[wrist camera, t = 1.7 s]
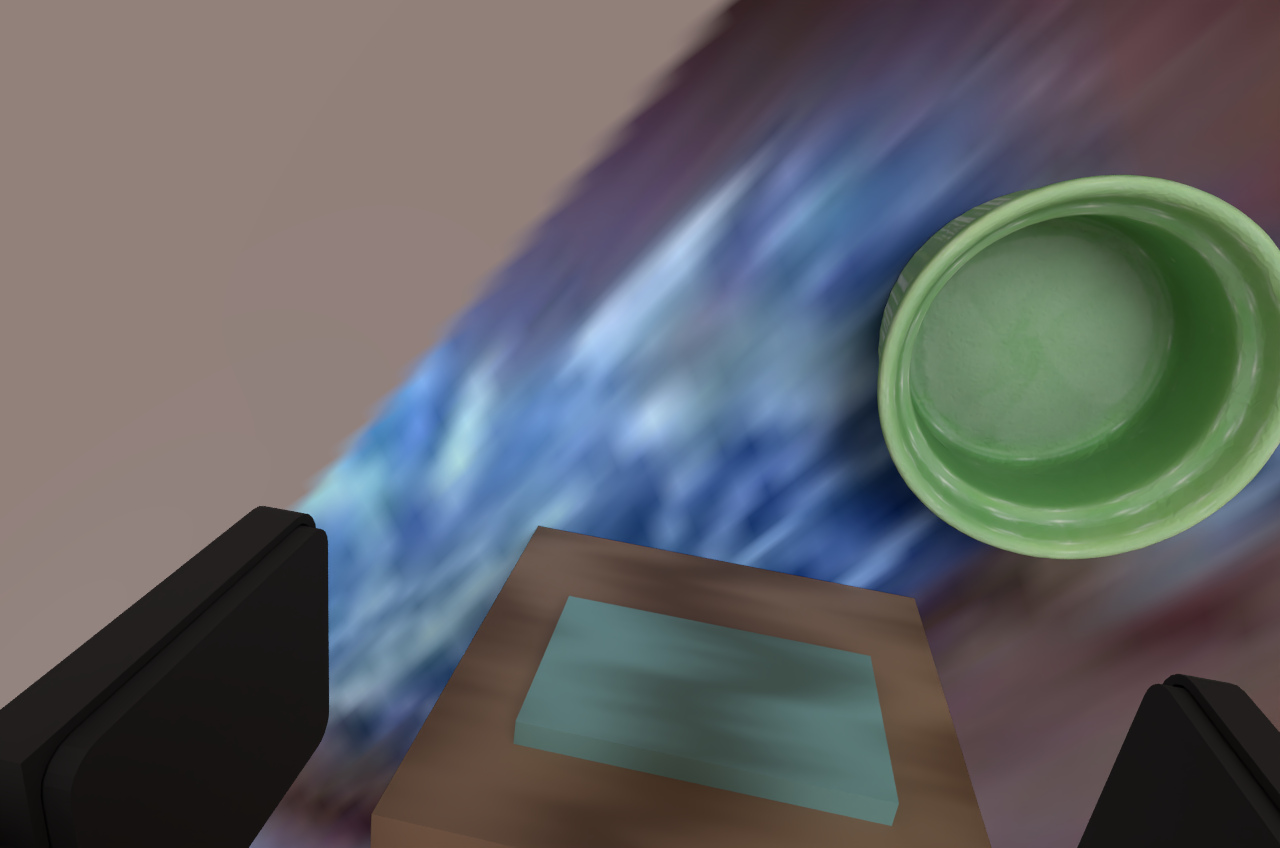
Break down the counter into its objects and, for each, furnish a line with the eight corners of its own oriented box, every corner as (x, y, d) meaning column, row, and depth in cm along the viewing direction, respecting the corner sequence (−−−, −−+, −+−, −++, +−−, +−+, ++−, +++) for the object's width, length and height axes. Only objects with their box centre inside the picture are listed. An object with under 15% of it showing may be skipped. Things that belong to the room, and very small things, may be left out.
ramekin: (1266, 388, 22) (1379, 447, 18) (953, 538, 25) (990, 620, 21) (1119, 91, 20) (1206, 83, 16) (799, 289, 23) (805, 324, 19)
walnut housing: (919, 581, 25) (1037, 940, 14) (859, 782, 28) (920, 1214, 17) (539, 509, 26) (372, 789, 15) (519, 710, 29) (365, 1071, 18)
